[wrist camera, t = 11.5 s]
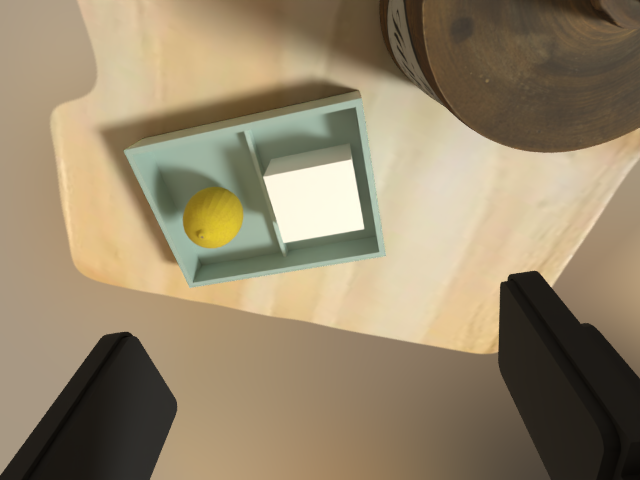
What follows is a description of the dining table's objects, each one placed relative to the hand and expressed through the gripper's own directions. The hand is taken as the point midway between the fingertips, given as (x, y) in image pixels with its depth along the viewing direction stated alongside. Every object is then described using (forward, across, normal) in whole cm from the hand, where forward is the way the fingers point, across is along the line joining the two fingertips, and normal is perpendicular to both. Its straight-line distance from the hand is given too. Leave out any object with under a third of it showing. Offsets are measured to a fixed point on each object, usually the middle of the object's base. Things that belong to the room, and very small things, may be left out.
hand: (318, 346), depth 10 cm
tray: (+30, +8, +7) cm, 32 cm away
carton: (+30, +3, +7) cm, 31 cm away
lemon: (+30, +13, +7) cm, 33 cm away
